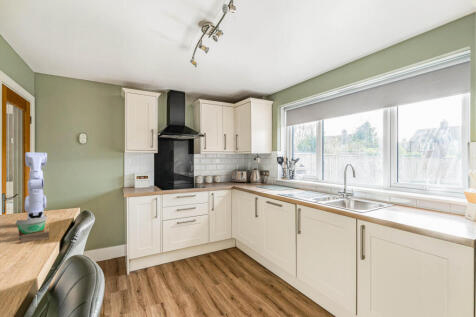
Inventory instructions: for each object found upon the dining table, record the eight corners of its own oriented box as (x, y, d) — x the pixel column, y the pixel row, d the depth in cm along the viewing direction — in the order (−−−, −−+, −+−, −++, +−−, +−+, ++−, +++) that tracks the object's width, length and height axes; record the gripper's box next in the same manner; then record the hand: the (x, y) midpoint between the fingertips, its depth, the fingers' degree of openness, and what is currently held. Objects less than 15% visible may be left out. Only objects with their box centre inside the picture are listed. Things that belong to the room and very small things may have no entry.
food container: (21, 242, 107) (21, 221, 107) (15, 240, 110) (15, 219, 110) (51, 234, 118) (52, 215, 118) (45, 233, 121) (46, 214, 121)
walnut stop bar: (21, 241, 108) (21, 235, 108) (48, 236, 115) (48, 230, 115) (21, 243, 106) (21, 236, 106) (48, 238, 113) (48, 232, 113)
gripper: (26, 200, 123) (25, 224, 123) (25, 204, 113) (24, 231, 113) (43, 198, 128) (42, 222, 128) (43, 202, 117) (43, 228, 117)
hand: (35, 226), depth 121 cm, fingers closed
